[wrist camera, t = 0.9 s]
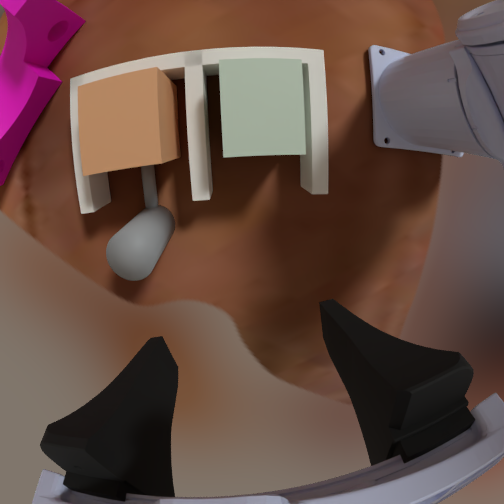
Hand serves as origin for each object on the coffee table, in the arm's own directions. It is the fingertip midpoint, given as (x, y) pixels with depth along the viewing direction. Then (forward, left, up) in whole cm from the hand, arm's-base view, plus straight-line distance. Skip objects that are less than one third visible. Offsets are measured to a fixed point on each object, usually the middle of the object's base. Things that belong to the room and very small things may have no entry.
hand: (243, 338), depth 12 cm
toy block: (+17, -15, -10) cm, 25 cm away
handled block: (+6, -7, -9) cm, 13 cm away
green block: (-2, -10, -10) cm, 14 cm away
